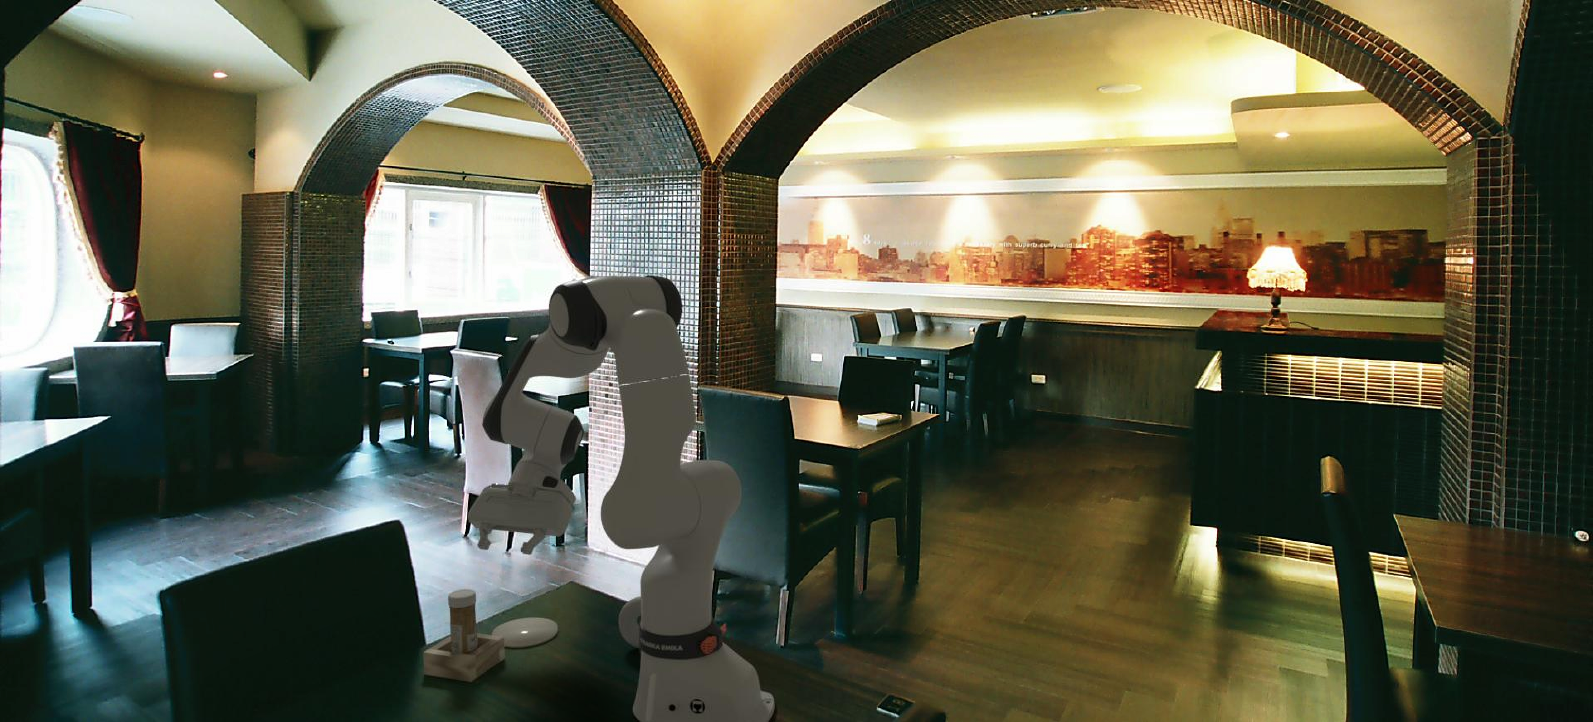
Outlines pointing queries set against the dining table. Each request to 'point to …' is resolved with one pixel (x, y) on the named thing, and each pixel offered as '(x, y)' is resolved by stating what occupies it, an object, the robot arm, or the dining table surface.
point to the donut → (630, 621)
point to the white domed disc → (526, 631)
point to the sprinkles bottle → (463, 621)
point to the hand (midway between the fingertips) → (503, 550)
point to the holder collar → (464, 658)
